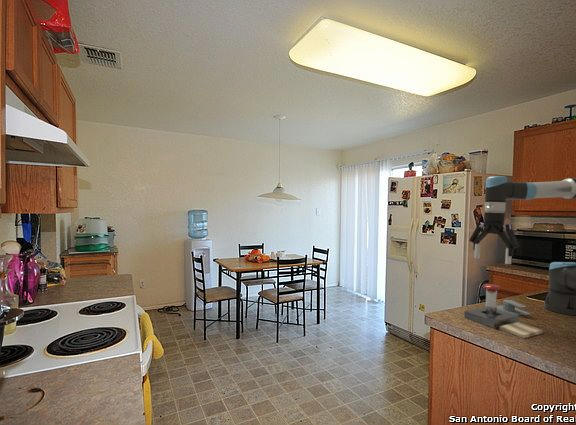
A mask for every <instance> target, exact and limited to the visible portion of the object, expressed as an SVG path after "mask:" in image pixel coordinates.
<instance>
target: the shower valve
mask: <svg viewBox="0 0 576 425" xmlns="http://www.w3.org/2000/svg"><path fill="white" fill-rule="evenodd" d="M502 303H503V305H497V309H499V310H502V311H505V312H509V313H512V314H515V315H524V316H531V313H530V312H527V311H525V310H522V309H524V308H525V309H526V308H527V306H526V305H524V304H521V303H520V302H517V301H514V300H511V299H503V300H502ZM521 308H522V309H521Z"/></svg>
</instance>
